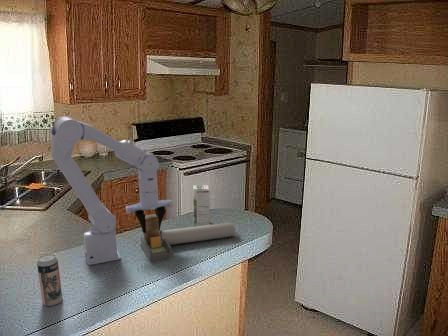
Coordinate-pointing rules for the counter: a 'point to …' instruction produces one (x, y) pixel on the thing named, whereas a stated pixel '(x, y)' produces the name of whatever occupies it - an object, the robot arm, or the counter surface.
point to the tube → (198, 233)
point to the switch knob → (155, 242)
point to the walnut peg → (151, 227)
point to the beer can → (49, 280)
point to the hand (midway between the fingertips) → (151, 230)
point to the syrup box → (201, 205)
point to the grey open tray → (157, 250)
